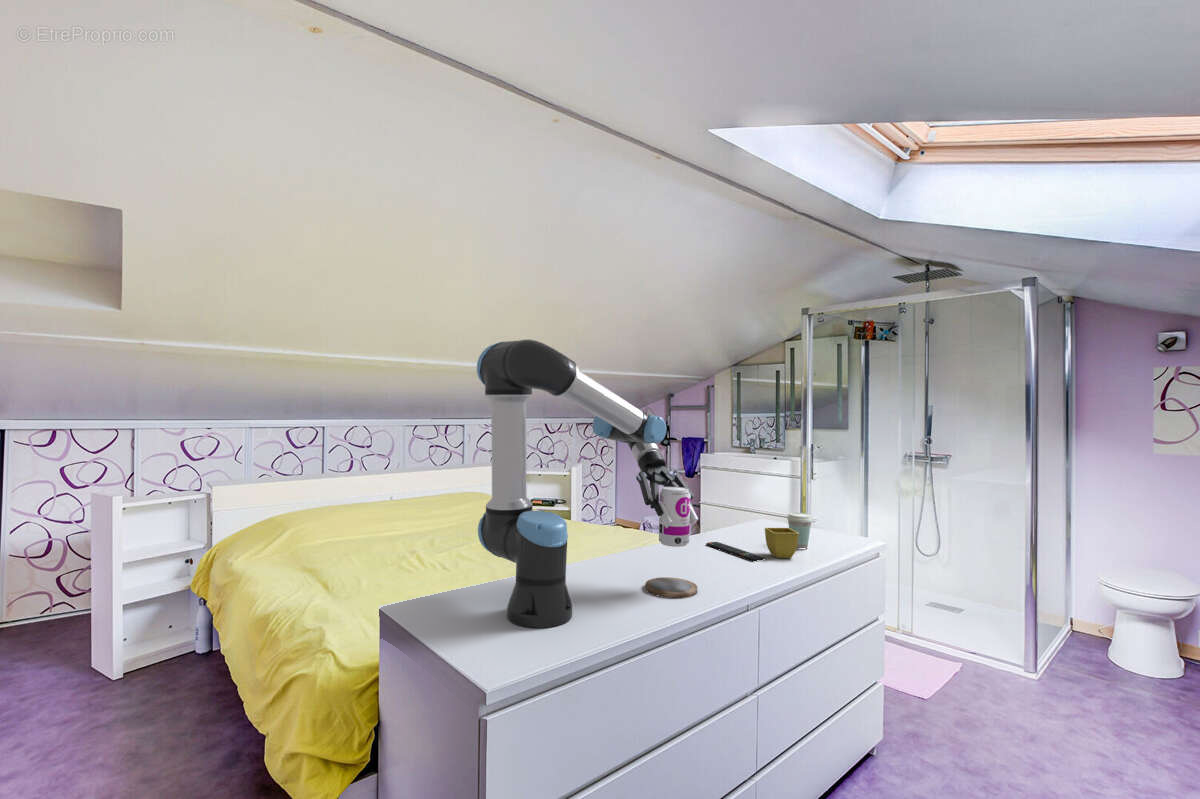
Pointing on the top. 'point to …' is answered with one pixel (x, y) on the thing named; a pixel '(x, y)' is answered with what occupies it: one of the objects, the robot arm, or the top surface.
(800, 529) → the coffee cup
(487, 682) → the top surface
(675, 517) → the supplement can
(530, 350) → the robot arm
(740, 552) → the remote control
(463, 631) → the top surface
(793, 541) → the flower pot
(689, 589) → the walnut pad
